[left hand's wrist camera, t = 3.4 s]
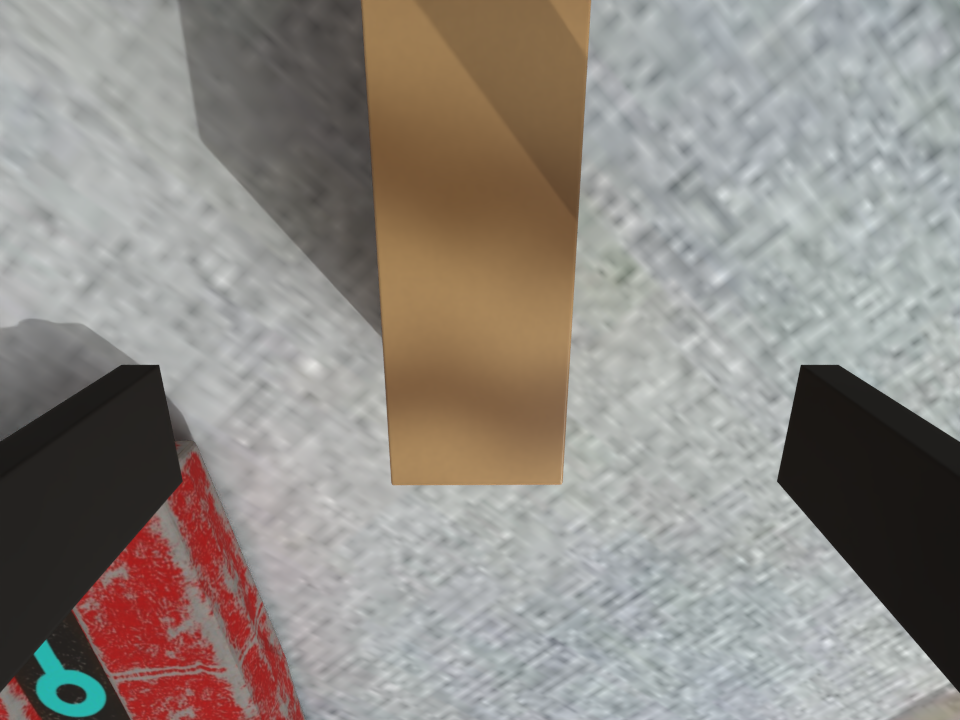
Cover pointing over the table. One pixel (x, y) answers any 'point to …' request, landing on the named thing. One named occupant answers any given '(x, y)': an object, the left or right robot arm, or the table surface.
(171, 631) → the gun
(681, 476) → the table surface
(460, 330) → the beam
